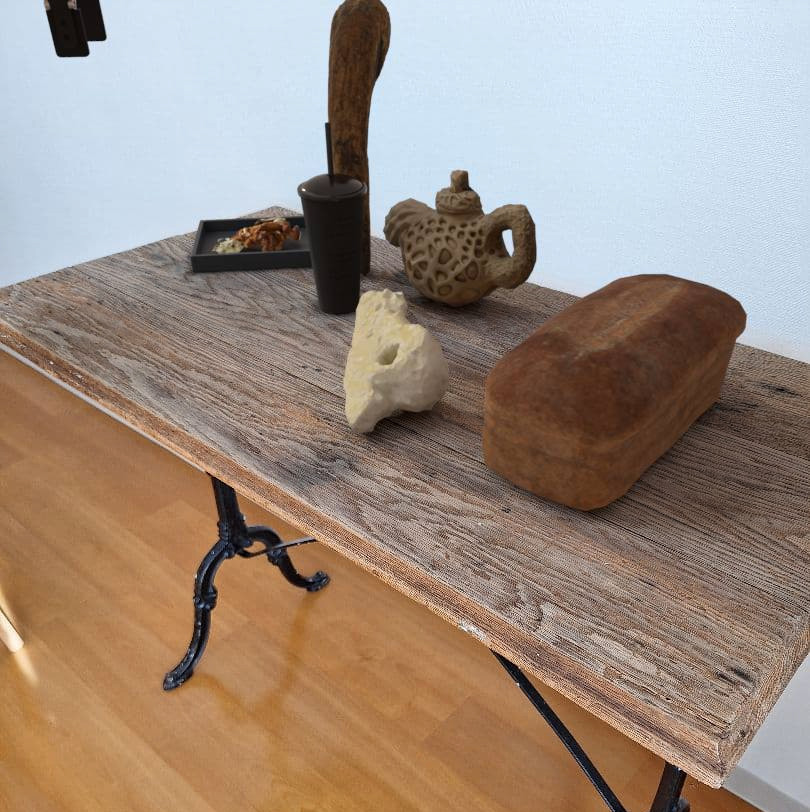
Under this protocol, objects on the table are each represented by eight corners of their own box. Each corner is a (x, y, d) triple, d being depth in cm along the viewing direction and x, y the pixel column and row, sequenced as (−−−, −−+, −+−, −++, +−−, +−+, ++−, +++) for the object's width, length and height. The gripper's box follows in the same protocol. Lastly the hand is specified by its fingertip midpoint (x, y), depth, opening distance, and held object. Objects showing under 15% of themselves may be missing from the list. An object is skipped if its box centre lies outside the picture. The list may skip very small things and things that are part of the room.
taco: (206, 250, 110) (201, 223, 108) (280, 230, 116) (278, 204, 114) (232, 265, 106) (228, 237, 104) (308, 244, 112) (306, 217, 110)
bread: (740, 398, 80) (775, 277, 72) (600, 541, 63) (626, 403, 55) (613, 358, 86) (632, 243, 79) (456, 477, 70) (461, 346, 62)
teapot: (359, 294, 100) (353, 164, 90) (419, 267, 107) (419, 143, 97) (500, 344, 89) (511, 203, 80) (557, 310, 96) (573, 176, 86)
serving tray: (193, 272, 106) (190, 256, 105) (202, 234, 117) (199, 220, 115) (324, 266, 107) (323, 250, 106) (321, 229, 118) (320, 214, 117)
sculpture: (396, 262, 108) (392, -8, 89) (389, 284, 102) (383, 0, 83) (345, 261, 109) (330, -9, 89) (335, 282, 103) (317, 0, 84)
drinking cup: (358, 322, 94) (349, 134, 81) (297, 314, 96) (279, 129, 83) (379, 296, 99) (374, 116, 87) (321, 289, 101) (307, 112, 88)
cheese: (433, 470, 74) (506, 328, 75) (378, 432, 69) (456, 281, 71) (343, 446, 86) (407, 323, 87) (291, 411, 81) (360, 282, 82)
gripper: (17, -165, 80) (64, 36, 91) (-37, -172, 67) (25, 64, 78) (95, -165, 81) (132, 35, 92) (56, -172, 68) (105, 62, 79)
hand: (83, 48), depth 85 cm, fingers open, 9 cm apart
